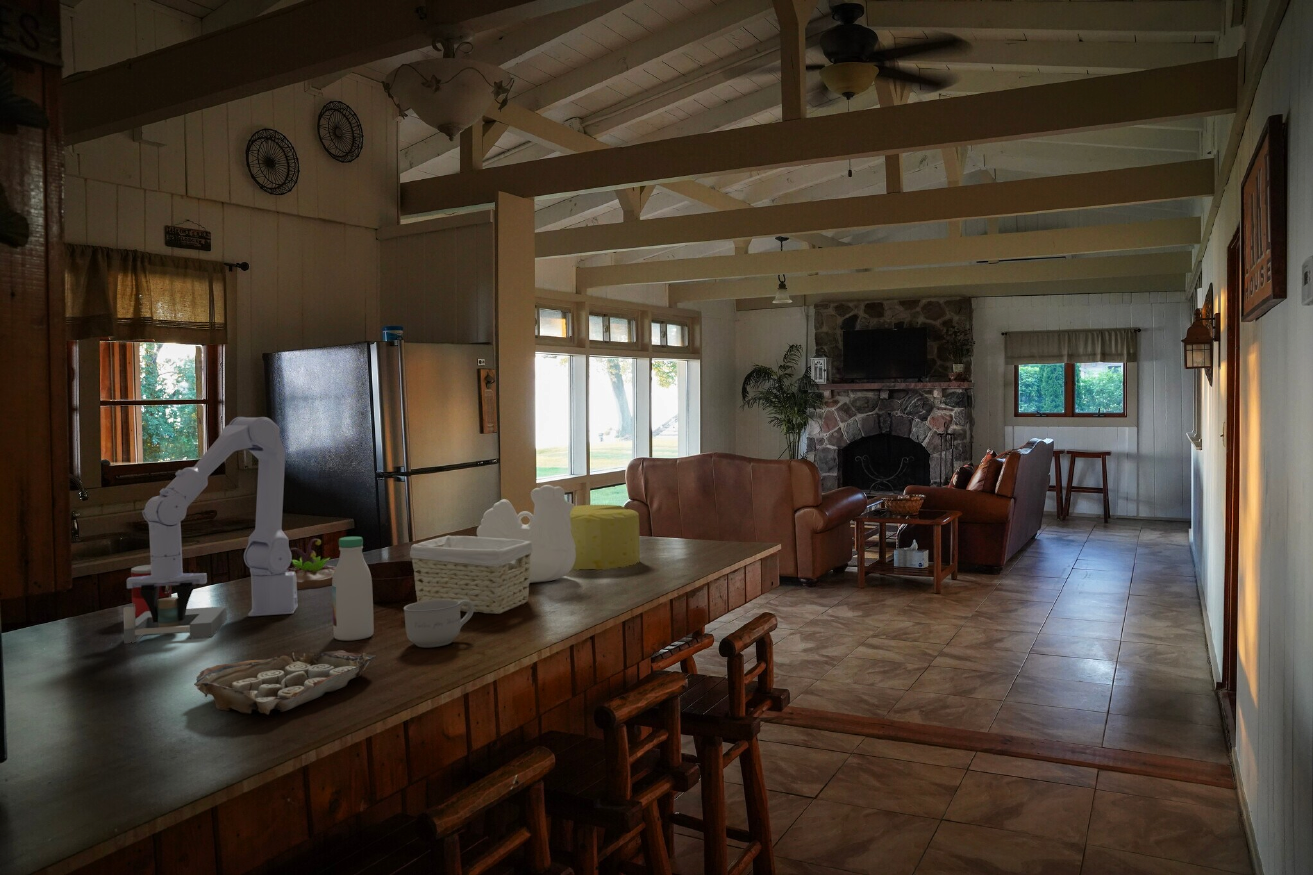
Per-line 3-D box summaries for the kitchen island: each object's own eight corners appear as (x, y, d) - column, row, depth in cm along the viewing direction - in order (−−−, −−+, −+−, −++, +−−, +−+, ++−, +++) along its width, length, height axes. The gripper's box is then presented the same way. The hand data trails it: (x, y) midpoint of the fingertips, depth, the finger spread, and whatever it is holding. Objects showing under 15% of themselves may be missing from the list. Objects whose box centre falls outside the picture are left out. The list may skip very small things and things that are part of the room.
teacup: (411, 654, 175) (410, 612, 175) (399, 641, 185) (397, 601, 184) (484, 644, 181) (483, 603, 181) (468, 631, 191) (467, 593, 191)
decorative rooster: (584, 575, 247) (582, 481, 246) (563, 588, 232) (561, 488, 231) (496, 572, 254) (494, 480, 252) (470, 584, 238) (468, 487, 237)
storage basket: (536, 601, 218) (535, 538, 217) (500, 617, 203) (498, 550, 202) (449, 594, 227) (448, 534, 226) (408, 609, 212) (406, 544, 211)
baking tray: (298, 663, 173) (297, 634, 173) (398, 671, 166) (397, 641, 165) (164, 716, 144) (162, 681, 144) (278, 729, 137) (276, 692, 137)
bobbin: (183, 625, 195) (182, 596, 195) (178, 629, 191) (177, 600, 191) (160, 626, 194) (159, 597, 194) (155, 631, 190) (154, 601, 190)
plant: (363, 581, 246) (362, 539, 245) (289, 593, 232) (287, 548, 232) (330, 571, 260) (329, 531, 260) (258, 582, 247) (257, 540, 246)
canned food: (156, 620, 204) (153, 570, 204) (124, 619, 206) (122, 570, 205) (180, 612, 212) (178, 564, 211) (149, 611, 213) (147, 563, 213)
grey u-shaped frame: (226, 619, 204) (225, 588, 204) (211, 637, 189) (209, 603, 189) (146, 625, 200) (144, 592, 200) (123, 644, 185) (121, 609, 185)
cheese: (654, 556, 275) (654, 505, 274) (614, 572, 251) (613, 517, 250) (576, 551, 285) (575, 502, 285) (531, 566, 262) (529, 513, 261)
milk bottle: (381, 633, 191) (378, 535, 190) (357, 642, 184) (354, 541, 183) (349, 630, 194) (346, 534, 192) (325, 640, 186) (321, 540, 185)
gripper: (120, 560, 186) (123, 627, 187) (200, 555, 189) (202, 622, 190) (131, 554, 193) (134, 619, 193) (208, 550, 196) (210, 614, 197)
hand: (169, 620), depth 192 cm, fingers closed on bobbin, 4 cm apart
